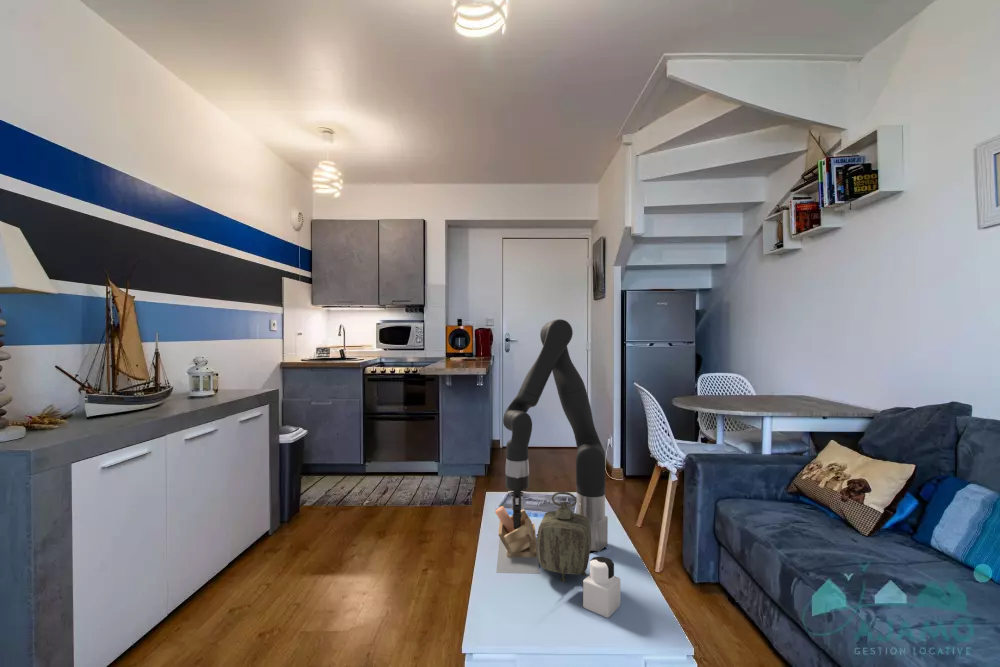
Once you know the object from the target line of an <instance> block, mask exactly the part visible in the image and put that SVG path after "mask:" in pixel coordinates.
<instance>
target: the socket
mask: <svg viewBox="0 0 1000 667" xmlns="http://www.w3.org/2000/svg"><path fill="white" fill-rule="evenodd" d="M509 516H510V515H509ZM510 518H511V519H512V521H513V523H514V518H513V514H512V515H511V516H510ZM498 524H499V525H498V537H499V540H500V539H501V541H502V542H503V544H504V546H505V548H506V549H507V557H537V548H536V537H537V536H536V523H532V519H531V518H530V517H529V515H528V513H527V511H526V509H524V508H523V509H522V510H521V527H519V528H517V529H515V530H514V531H512V532H510V533H508V532H507V531H506V529H505V527H504V526H503V524H502V523H501V521H500V520H499V523H498Z"/></svg>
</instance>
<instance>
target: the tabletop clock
mask: <svg viewBox="0 0 1000 667" xmlns="http://www.w3.org/2000/svg"><path fill="white" fill-rule="evenodd" d="M558 495H567V496H570V497H572V499H574V502H573V503H571V504H567V501H562V503H560V502H559V503H558V502H556V501H555V499H554V498H555V497H556V496H558ZM551 501H552V502H553V504H554V505H556V506H558V508H557V509H556V510H552V511H547V512H545V513H544V515H543V518H542V520H541V522H540V524H539V526H538V530H537V536H536V537H537V554H538V560H539V567H541V568H542V569H544V570H545V571H549V572H554V573H559V574H561V578H560V582H566V579H565V575H581V576H583V577H585V576H587V573H586V571H587V569H588V565H589V562H590V561H589V560H590V553H591V551H590V548H591V529H590V523H589V520H588V518H587V517H585V516H584V515H581V514H577V512H573V511H572V509H570V508H571V507H574V506H576V505H577V497H576V496H575V495H574V494H572V493H570V492H567V491H558V492H555V493H553V495H552V496H551Z"/></svg>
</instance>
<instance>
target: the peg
mask: <svg viewBox="0 0 1000 667" xmlns="http://www.w3.org/2000/svg"><path fill="white" fill-rule="evenodd" d="M494 513H495V514H496V516H497V518H498V519H499V522H500V521H501V523H502V524H503V526H504V527H505V529H506V531H507V532H508V533H510V532H512V531H514V530H515V529H514V523H513V521H512V519H511V518H510V515H509V513H508V510H506V508H505V507H504V506H503V505H502V506H499V507H498V508H497V509H496V510H495V511H494Z"/></svg>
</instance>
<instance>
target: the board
mask: <svg viewBox="0 0 1000 667" xmlns="http://www.w3.org/2000/svg"><path fill="white" fill-rule="evenodd" d="M536 548H537V536H536ZM497 553H498V554H497V561H496V571H495V572H496V574H497V573H498V574H500V573H501V574H531V575H532V574H533V575H534V574H535V575H537V574H538V575H539V574H540V571H541V570H540V563H539V560H538V554H537V557H507V549H506V548H505V546H504V544H503V542H502V541H501V539H500V538H499V542H498V552H497Z"/></svg>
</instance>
